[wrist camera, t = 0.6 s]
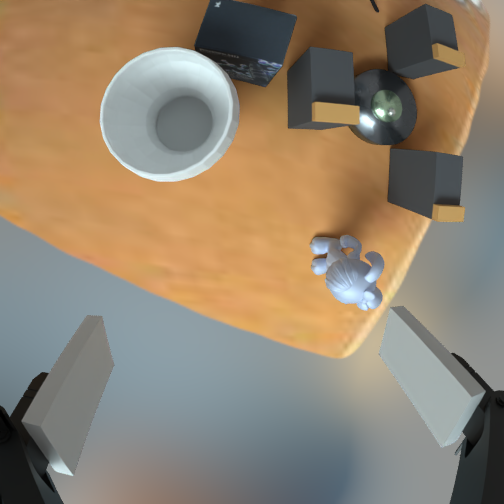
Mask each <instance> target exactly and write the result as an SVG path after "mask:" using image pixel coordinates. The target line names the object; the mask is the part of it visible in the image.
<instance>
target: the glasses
mask: <svg viewBox="0 0 504 504" xmlns="http://www.w3.org/2000/svg"><path fill="white" fill-rule="evenodd" d="M370 1H371V3H372V5H373V7H374V9H375V11H376V12H379V10H378V8H377V6H376V4H375V2H374V0H370Z"/></svg>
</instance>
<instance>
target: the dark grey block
mask: <svg viewBox="0 0 504 504" xmlns="http://www.w3.org/2000/svg"><path fill="white" fill-rule="evenodd" d="M462 167H463V157H462V156H457V155H451V154H445V153H439V152H431V151H419V150H406V149H390V170H389V189H388V202H390V203H392V204H395V205H398V206H400V207H403V208H405V209H408V210H410V211H413V212H415V213H418V214H420V215H423V216H425V217H428V218H430V219H432V220H435V221H438V222H463V220H464V212H465V207H462V206H459V204H460V195H461V183H462V182H461V181H462Z"/></svg>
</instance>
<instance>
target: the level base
mask: <svg viewBox="0 0 504 504" xmlns="http://www.w3.org/2000/svg"><path fill="white" fill-rule="evenodd" d="M354 94H355V106H359V114H360V124H357V125H349V128H350V129H351V131H352V132H353V133H354V134H355V135H356V136H357V137H359V138H360V139H362V140H363V141H365V142H367V143H370V144H375V145H394V144H398V143H400V142H402V141H404V140H405V139H406V138H407V137H408V136H409V135H410V134H411V132H412V131H413V129H414V126H415V123H416V118H417V109H416V103H415V99H414V97H413V94H412V92H411V90H410V89H409V87H408V86H407V84H406V83H405V82H404V81H403V80H402V79H401V78H400V77H398V76H397V75H395V74H394V73H392V72H389V71H386V70H382V69H373V70H368V71H366V72H364V73H361V74H359V75H357V76H355V77H354Z"/></svg>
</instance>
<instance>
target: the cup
mask: <svg viewBox="0 0 504 504" xmlns="http://www.w3.org/2000/svg"><path fill="white" fill-rule="evenodd" d="M239 112H240V104H239V100H238V95H237V91H236V88H235V86H234V84H233V83H232V81H231V79H230V77H229V75H228V74H227V73H226V72H225V71H224V70H223V69H222V68H221V67H220V66H219V65H218V64H217V63H216V62H214V61H213V60H211V59H209V58H208V57H206V56H204V55H202V54H200V53H198V52H196V51H194V50H190V49H185V48H180V47H166V48H158V49H155V50H151V51H148V52H145V53H143V54H141V55H139V56H137V57H136V58H134V59H132V60H131V61H129V62H128V63H127V64H126V65H125V66H123V67H122V68H121V69H120V70H119V71H118V72H117V73H116V74H115V76H114V77H113V79H112V81H111V82H110V84H109V85H108V87H107V89H106V91H105V94H104V97H103V100H102V103H101V112H100V125H101V130H102V135H103V139H104V141H105V143H106V145H107V146H108V148H109V150H110V152H111V153H112V155H113V156H114V157H115V158H116V159H117V160H118V161H119V162H120V163H121V164H122V165H123V166H125V167H126V168H127V169H129V170H131V171H132V172H134V173H136V174H137V175H139V176H141V177H144V178H147V179H151V180H155V181H180V180H183V179H187V178H191V177H194V176H196V175H198V174H200V173H202V172H203V171H205V170H207V169H209V168H210V167H211V166H212V165H213V164H215V163H216V162H217V161H218V160H219V159H220V158H221V157H222V156H223V155H224V154H225V152H226V150H227V149H228V147H229V146H230V144H231V143H232V141H233V139H234V136H235V133H236V130H237V127H238V124H239Z"/></svg>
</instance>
